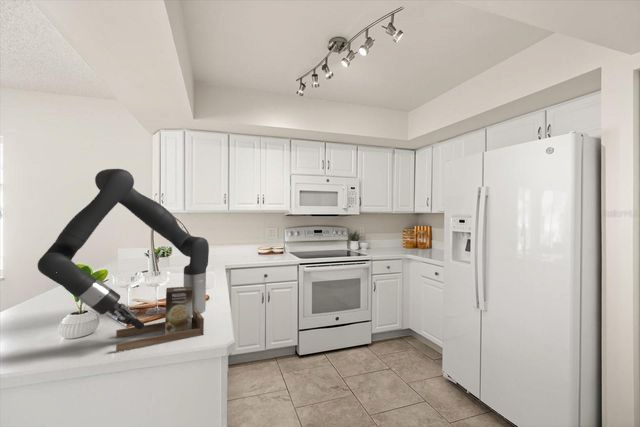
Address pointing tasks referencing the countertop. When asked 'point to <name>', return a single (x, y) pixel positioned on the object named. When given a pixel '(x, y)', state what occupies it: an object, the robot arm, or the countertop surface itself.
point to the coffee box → (178, 309)
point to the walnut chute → (196, 321)
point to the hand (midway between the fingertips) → (142, 326)
